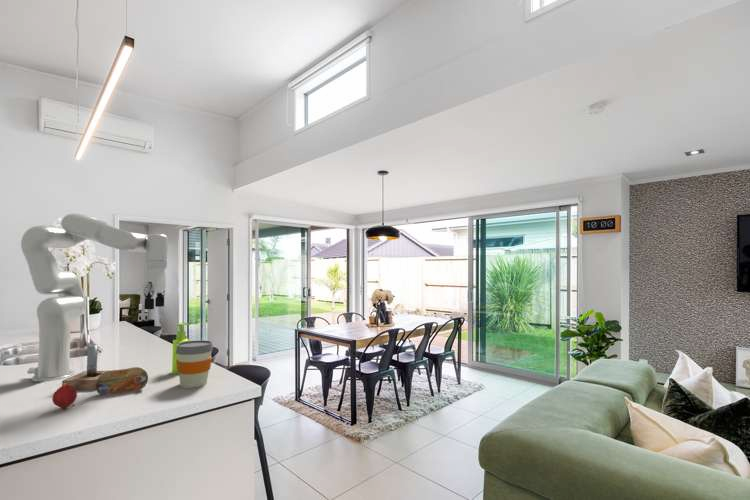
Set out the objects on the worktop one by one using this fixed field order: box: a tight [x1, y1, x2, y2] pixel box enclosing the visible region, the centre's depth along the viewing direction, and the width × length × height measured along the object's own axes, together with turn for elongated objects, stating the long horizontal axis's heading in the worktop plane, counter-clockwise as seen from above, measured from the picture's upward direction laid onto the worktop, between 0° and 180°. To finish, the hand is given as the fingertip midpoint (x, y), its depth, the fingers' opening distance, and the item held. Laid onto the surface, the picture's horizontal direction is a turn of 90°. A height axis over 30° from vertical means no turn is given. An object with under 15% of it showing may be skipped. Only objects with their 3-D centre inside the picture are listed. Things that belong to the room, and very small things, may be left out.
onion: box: [51, 383, 78, 410], centre depth 117 cm, size 6×6×8 cm
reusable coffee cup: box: [176, 339, 214, 389], centre depth 142 cm, size 13×12×15 cm
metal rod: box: [86, 344, 99, 377], centre depth 138 cm, size 3×3×14 cm
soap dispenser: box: [171, 322, 191, 375], centre depth 159 cm, size 6×7×20 cm
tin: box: [96, 366, 149, 397], centre depth 131 cm, size 15×3×8 cm, turn 126°
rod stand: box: [61, 370, 112, 391], centre depth 138 cm, size 12×12×4 cm
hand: (154, 307), depth 151 cm, fingers open, 9 cm apart
